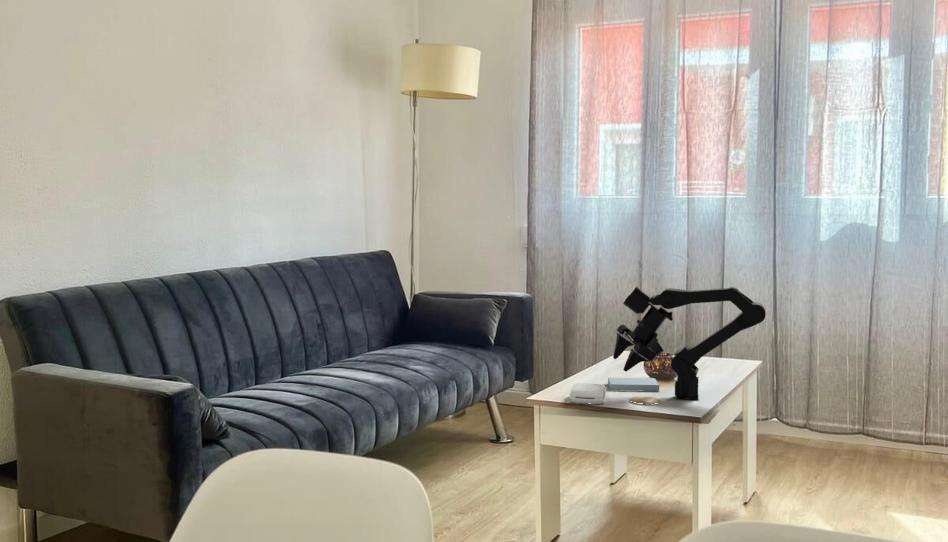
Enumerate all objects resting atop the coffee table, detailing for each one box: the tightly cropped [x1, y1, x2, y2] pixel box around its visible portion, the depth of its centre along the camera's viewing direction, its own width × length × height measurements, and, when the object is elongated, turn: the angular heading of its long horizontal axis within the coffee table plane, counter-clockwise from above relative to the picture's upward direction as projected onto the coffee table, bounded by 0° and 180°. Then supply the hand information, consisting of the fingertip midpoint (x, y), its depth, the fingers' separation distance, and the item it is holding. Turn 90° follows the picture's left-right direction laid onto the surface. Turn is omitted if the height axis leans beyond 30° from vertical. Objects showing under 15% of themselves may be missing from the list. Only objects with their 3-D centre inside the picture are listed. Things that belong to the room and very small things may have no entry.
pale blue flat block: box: [607, 377, 660, 392], centre depth 293 cm, size 15×11×2 cm
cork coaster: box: [629, 396, 662, 404], centre depth 273 cm, size 9×9×1 cm
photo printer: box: [569, 383, 607, 405], centre depth 273 cm, size 10×4×12 cm
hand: (619, 364), depth 282 cm, fingers open, 9 cm apart
